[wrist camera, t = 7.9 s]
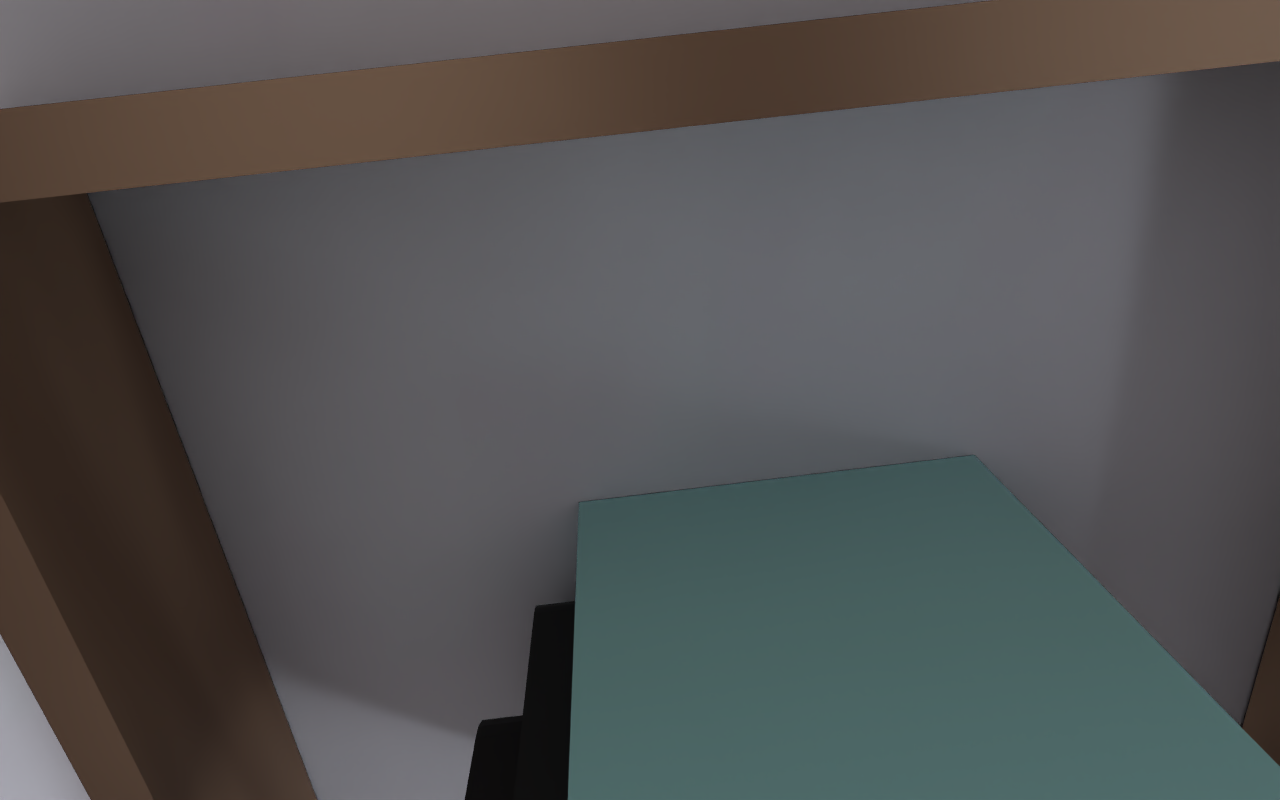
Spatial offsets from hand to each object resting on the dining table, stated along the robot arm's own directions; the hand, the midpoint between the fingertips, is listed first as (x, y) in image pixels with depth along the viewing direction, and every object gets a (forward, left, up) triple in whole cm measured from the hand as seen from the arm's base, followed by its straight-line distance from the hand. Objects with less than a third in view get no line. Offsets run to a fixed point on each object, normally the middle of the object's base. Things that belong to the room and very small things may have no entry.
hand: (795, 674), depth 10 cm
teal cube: (0, 0, -1) cm, 1 cm away
